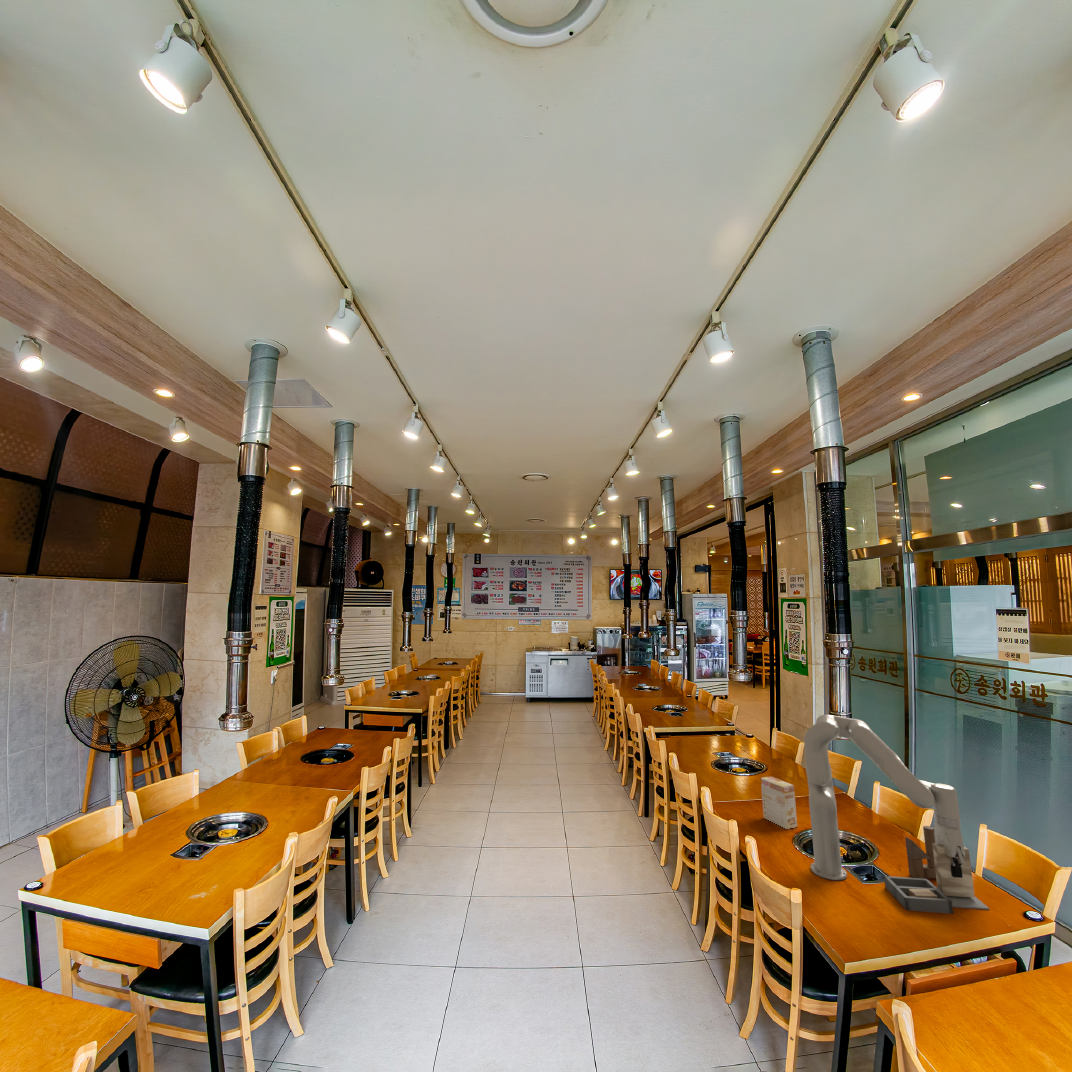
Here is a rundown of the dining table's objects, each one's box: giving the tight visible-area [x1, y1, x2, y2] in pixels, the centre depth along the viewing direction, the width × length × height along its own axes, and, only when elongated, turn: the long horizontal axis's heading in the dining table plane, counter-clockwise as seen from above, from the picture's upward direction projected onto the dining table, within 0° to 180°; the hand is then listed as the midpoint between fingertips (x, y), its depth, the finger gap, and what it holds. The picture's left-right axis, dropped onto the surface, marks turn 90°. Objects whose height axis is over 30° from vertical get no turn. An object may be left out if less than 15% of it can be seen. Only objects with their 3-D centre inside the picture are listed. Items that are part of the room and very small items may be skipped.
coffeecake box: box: [760, 776, 798, 830], centre depth 251 cm, size 15×7×20 cm, turn 19°
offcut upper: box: [909, 889, 937, 898], centre depth 180 cm, size 4×7×2 cm, turn 86°
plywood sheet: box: [932, 843, 976, 898], centre depth 185 cm, size 4×10×16 cm, turn 80°
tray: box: [883, 875, 954, 915], centre depth 183 cm, size 15×15×4 cm
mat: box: [947, 896, 990, 911], centre depth 184 cm, size 12×13×1 cm
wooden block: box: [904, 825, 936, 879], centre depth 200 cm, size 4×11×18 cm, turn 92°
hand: (953, 873), depth 185 cm, fingers closed on plywood sheet, 3 cm apart
